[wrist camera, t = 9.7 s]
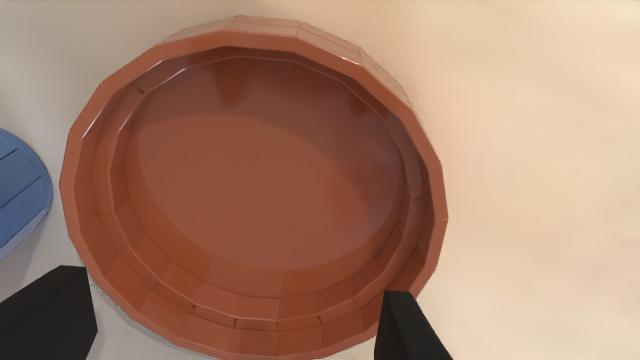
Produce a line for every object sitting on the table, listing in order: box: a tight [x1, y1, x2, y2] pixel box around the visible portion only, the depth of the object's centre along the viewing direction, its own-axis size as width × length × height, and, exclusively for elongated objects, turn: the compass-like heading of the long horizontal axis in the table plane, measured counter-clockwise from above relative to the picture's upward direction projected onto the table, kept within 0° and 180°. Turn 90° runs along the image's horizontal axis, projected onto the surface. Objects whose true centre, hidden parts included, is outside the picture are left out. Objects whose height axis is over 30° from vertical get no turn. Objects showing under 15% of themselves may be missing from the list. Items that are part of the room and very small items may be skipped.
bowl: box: [59, 15, 448, 360], centre depth 19 cm, size 14×14×4 cm
